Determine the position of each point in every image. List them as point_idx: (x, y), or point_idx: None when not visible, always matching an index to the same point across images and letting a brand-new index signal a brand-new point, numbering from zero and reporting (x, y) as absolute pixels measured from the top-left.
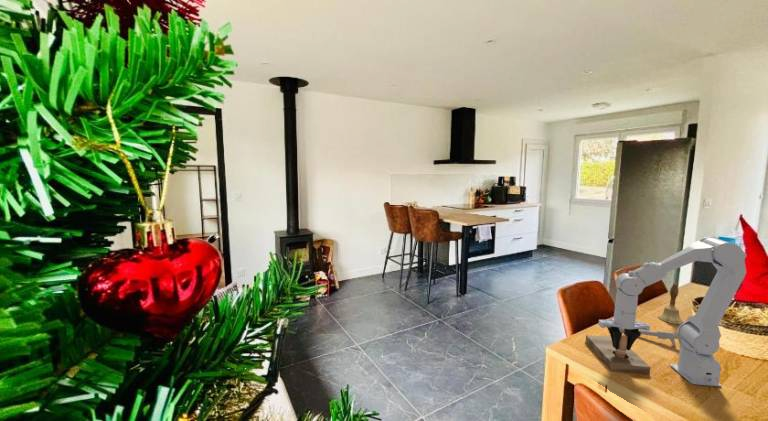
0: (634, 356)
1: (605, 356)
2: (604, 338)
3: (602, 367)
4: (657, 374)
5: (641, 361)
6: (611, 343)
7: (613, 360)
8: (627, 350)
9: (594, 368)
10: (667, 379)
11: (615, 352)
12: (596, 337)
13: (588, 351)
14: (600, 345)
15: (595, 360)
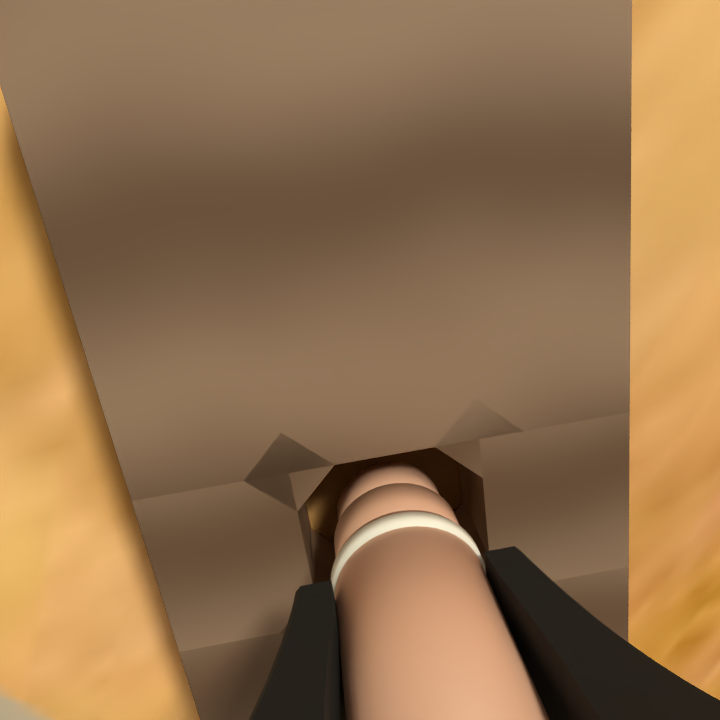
0: (567, 522)
1: (175, 635)
2: (327, 36)
3: (142, 658)
4: (665, 593)
5: (591, 607)
6: (390, 225)
7: (249, 699)
8: (553, 385)
9: (51, 703)
10: (706, 640)
11: (335, 543)
12: (171, 44)
13: (33, 358)
14: (175, 364)
15: (91, 551)
